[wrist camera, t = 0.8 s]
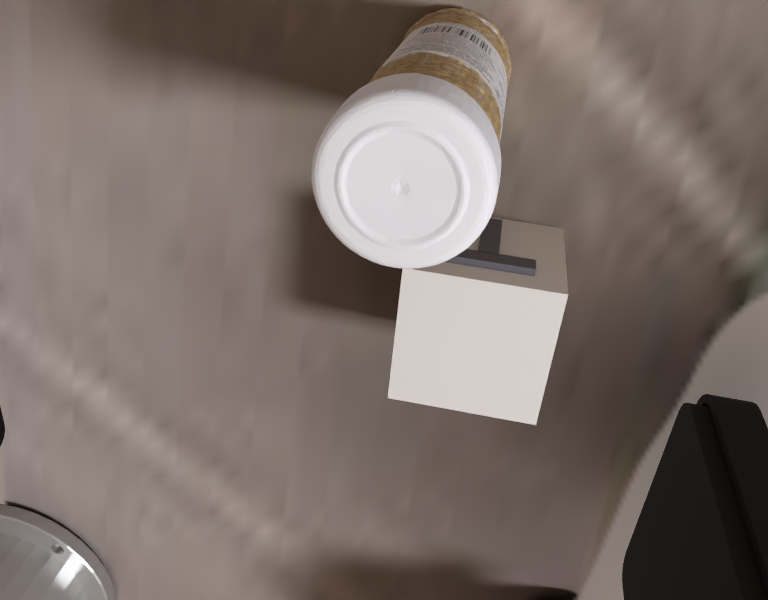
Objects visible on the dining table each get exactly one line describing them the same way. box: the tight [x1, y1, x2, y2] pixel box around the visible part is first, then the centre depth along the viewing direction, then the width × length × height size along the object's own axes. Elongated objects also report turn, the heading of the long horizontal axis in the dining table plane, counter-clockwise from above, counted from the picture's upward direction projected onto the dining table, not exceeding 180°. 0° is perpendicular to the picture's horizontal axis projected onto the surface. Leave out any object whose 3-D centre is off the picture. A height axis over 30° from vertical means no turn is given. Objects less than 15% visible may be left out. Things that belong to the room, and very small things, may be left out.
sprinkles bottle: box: [311, 8, 512, 269], centre depth 23 cm, size 5×5×13 cm
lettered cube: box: [388, 217, 568, 425], centre depth 31 cm, size 6×6×6 cm
